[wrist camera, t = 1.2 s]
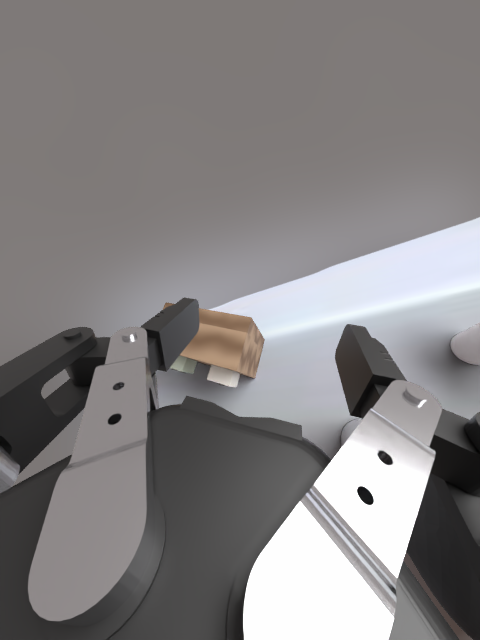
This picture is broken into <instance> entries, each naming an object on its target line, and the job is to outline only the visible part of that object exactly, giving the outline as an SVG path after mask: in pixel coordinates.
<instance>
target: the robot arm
mask: <svg viewBox="0 0 480 640" xmlns="http://www.w3.org/2000/svg"><path fill="white" fill-rule="evenodd" d="M199 325H200V322H199V304H198V301H197V300H196V299H189V298H183V299H182V300H180V301H179V302H177V303H176V304H174V305H171V306H169V307H166V308H165V309H163V310H162V311H161V312H160V313H158V314H157V315H155V317H153V318H151V319H150V320H149V321H147V322H146V323H145V324H143V325H142V326H141V327H128V328H124V329H121V330H119V331H117V332H116V333H114V334H113V335H112V336H111V337H110V338H109V337H102V338H96V337H95V334H94V332H93V330H92V329H91V328H87V327H78V328H72V329H69V330H66V331H63V332H61V333H59V334H57V335H56V336H54V337H52V338H50V339H48V340H46V341H45V342H43V343H41V344H39V345H38V346H36V347H34V348H32V349H31V350H29V351H27V352H25V353H23V354H22V355H20V356H18V357H16V358H14V359H13V360H11V361H9V362H7V363H5V364H4V365H2V366H0V640H459V639H458V637H457V636H456V634H455V633H454V632H453V630H452V629H451V627H450V626H449V624H448V623H447V622H446V620H445V619H444V617H443V616H442V615H441V613H440V612H439V610H438V609H437V608H436V606H435V605H434V603H433V602H432V601H431V599H430V598H429V596H428V595H427V593H426V592H425V591H424V589H423V588H422V587H421V585H420V584H419V582H418V581H417V579H416V578H415V577H414V575H413V574H412V572H411V571H410V570H409V568H408V567H407V565H406V564H405V563H404V561H403V558H404V555H405V551H407V553H408V555H409V556H410V558H411V559H412V561H413V563H414V565H415V566H416V568H417V570H418V571H419V573H420V575H421V576H422V578H423V579H424V581H425V582H426V584H427V586H428V587H429V588H430V590H431V592H432V593H433V595H434V596H435V597H436V599H437V600H438V602H439V603H440V604H441V606H442V607H443V608H444V610H445V611H446V612H447V613H448V614H449V616H450V617H451V618H452V619H453V620H454V621H455V622H456V623H457V625H458V626H459V627H460V628H461V629H462V630H463V631H464V632H465V633H466V634H467V635H468V636H470V637H471V638H472V639H473V640H480V412H479V413H477V414H476V415H475V416H474V417H473V418H472V419H471V420H469V419H466V418H464V417H461V416H459V415H456V414H454V413H451V412H449V411H446V410H444V409H442V406H441V404H440V403H439V401H438V400H437V399H436V398H435V397H434V396H433V395H432V394H431V393H430V392H428V391H427V390H425V389H424V388H422V387H420V386H418V385H416V384H414V383H411V382H408V381H407V380H406V379H405V377H404V376H403V374H402V373H401V371H400V370H399V368H398V367H397V365H396V364H395V362H394V361H393V359H392V357H391V356H390V355H389V354H388V351H387V350H386V348H385V347H384V345H382V344H381V343H380V342H379V341H377V340H376V339H375V338H371V336H370V334H369V333H368V331H367V329H366V328H365V327H363V326H357V325H351V324H347V325H346V327H345V329H344V331H343V334H342V336H341V339H340V341H339V344H338V346H337V349H336V354H335V360H336V364H337V368H338V372H339V375H340V379H341V383H342V386H343V390H344V394H345V398H346V401H347V405H348V409H349V412H350V415H351V416H355V417H359V419H354V420H352V421H350V422H349V423H347V424H346V425H345V427H344V428H343V431H342V433H341V445H342V448H341V449H340V450H339V452H338V453H337V454H336V456H335V457H334V458H333V460H332V461H331V460H330V458H329V457H328V456H327V455H326V454H325V453H324V452H323V451H322V450H321V449H319V448H318V447H317V446H316V445H315V444H313V443H312V442H310V441H309V440H307V439H306V438H304V437H302V426H301V425H297V424H293V423H289V422H285V421H282V420H278V419H274V418H256V417H238V416H236V415H234V414H232V413H231V412H229V411H227V410H225V409H223V408H222V407H220V406H218V405H216V404H214V403H212V402H208V401H205V400H201V399H197V398H193V397H189V396H186V398H185V399H184V401H183V403H182V404H178V405H170V406H165V407H162V408H159V401H158V390H157V378H156V373H155V371H156V370H161V371H165V372H167V370H168V369H169V368H170V367H171V365H172V364H173V363H174V362H175V360H176V359H177V358H178V357H179V355H180V354H181V353H182V352H183V350H184V349H185V348H186V347H187V345H188V344H189V343H190V341H191V340H192V339H193V338H194V336H195V335H196V334H197V332H198V330H199ZM63 369H66V371H67V373H68V375H69V377H70V379H69V380H68V381H67V382H65V383H64V384H63V385H62V386H60V387H59V388H58V389H57V390H55V391H54V392H53V393H52V394H51V395H49V396H48V397H47V398H46V399H43V397H42V396H41V390H42V387H43V386H44V384H45V383H46V382H47V381H49V380H50V379H51V378H53V377H54V376H55V375H57V374H58V373H59V372H61V371H62V370H63ZM84 408H85V409H84ZM83 409H84V413H83V416H82V420H81V424H80V427H79V431H78V435H77V439H76V442H75V446H74V450H73V453H72V455H70V456H68V457H66V458H65V459H63V460H61V461H59V462H57V463H55V464H53V465H51V466H50V467H48V468H46V469H44V470H42V471H40V472H39V473H37V474H35V475H33V476H31V477H29V478H28V479H26V480H24V481H22V482H21V483H18V484H17V485H15V486H13V487H11V486H12V485H13V484H14V482H15V480H16V479H17V477H18V475H19V474H20V473H21V472H22V471H23V469H25V467H26V466H27V465H28V464H29V463H30V462H31V461H32V460H33V459H34V458H35V457H36V456H37V455H38V454H39V453H40V452H41V451H42V450H43V449H44V448H45V447H46V446H47V445H48V444H49V443H50V442H51V441H52V440H53V439H54V438H55V437H56V436H57V435H58V434H59V433H60V432H61V431H62V430H63V429H64V428H65V427H66V426H67V425H68V424H69V423H70V422H71V421H72V420H73V419H74V418H75V417H76V416H77V415H78V414H79V413H80V412H81V411H82V410H83ZM360 418H362V419H360Z"/></svg>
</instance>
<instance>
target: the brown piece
mask: <svg viewBox="0 0 480 640" xmlns="http://www.w3.org/2000/svg"><path fill="white" fill-rule="evenodd" d="M171 305H174V304H172V303H165V305H164V308H163V309H165V308H166V307H169V306H171ZM199 322H200V325H199V330H198V332H197V334H196V335H195V336H194V338H193V339H192V340H191V341H190V343H189V344H188V345H187V347H186V348H185V349H184V350H183V352H182V353H181V354H180V355H179V356H183V357H186V358H189V359H192V360H195V361H198V362H200V363H203V364H207V365H210V366H211V365H214V366H218V367H221V368H225V369H228V370H232V371H235V372H238V373H240V374H242V375H245V376H249V377H252V378H255V376H256V372H257V368H258V364H259V360H260V356H261V352H262V348H263V344H264V340H265V339H264V338H263V336H262V334H261V333H260V331H259V329H258V328H257V326H256V324H255V323H254V321H253V319H252V318H251V317H245V316H240V315H234V314H228V313H223V312H217V311H211V310H206V309H200V308H199Z"/></svg>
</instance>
